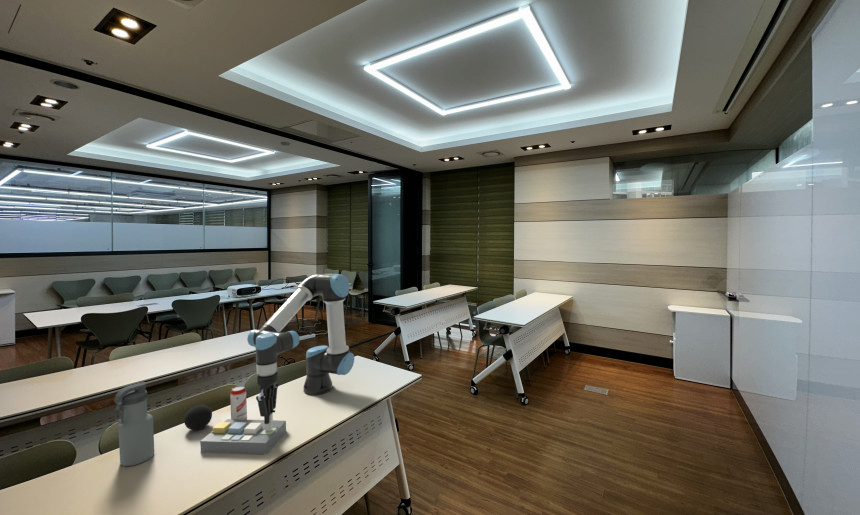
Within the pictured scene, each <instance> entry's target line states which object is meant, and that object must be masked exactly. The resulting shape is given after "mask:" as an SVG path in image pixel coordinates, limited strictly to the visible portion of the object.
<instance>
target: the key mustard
mask: <svg viewBox="0 0 860 515" xmlns="http://www.w3.org/2000/svg"><path fill="white" fill-rule="evenodd" d="M229 427H231V422H224V421H220V422H218V423H216V425H215V426H213V427H212V431H213V433H217V434H225V433H226V432H227V431H228V428H229Z"/></svg>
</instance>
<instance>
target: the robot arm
mask: <svg viewBox="0 0 860 515" xmlns="http://www.w3.org/2000/svg"><path fill="white" fill-rule="evenodd" d="M350 287H351V286H350V281H349V279H348V278H347V277H346V275H344V274H341V273H330V272H329V273H328V272H327V273H325V272H324V273H323V272H318V273H314V274H311V275H310V276H308V277H306V278H305V279H304V280H302V281H301V282H300V283H299V284H298V285H297V286H296V287H295V291H294V292H293V293H292V294H291V295H290V296H289V297H288V298H287V300H286V301H284V302H283V304H282V305H281V306H280V307H279V308H278V309H277V310H276V311H275V312H274V314H272V316H270V318H268V319H267V321H266V322H265V323H264V324H263V325H262V326H261V327H260V329H258V328H257V329H253V330H251V331H250V332H249V333H248V335H247V343H248V345H249V346H250V347H253V348H255V360H256V361H255V362H256V364H255V367H256V384H257V385H258V386H259V395H257V396H256V397H255V400H256V401H257V404H258V405H257V406H258V411H259V416H260V417H263V420H264V426H265V431H271V430H272V429H273V420H274V418H273V417H274V415H273V413H274V414H275V412H276V407H277V399H278V398H277V397H278V396H277V395H278V387H279V383H277V382H278V355H280V354H283V353H285V352H287V351H289V350H290V351H291V350H292V349H295V348H296V347H297V346H298V345H299V344H300V335H299V334H298V332H296V331H295V330H290V331H289V330H288V331H286V332H283V331H282V330H283V329H284V328H285V327H286V326H287V325H288V323H289V322H290V321H291V320H292V319H293V318H294V317H295V315H297V313H298V312H299V311H300V310H301V309H302V307H304V305H305V304H307V303H306V302H308V301H311V300H312V299H313V298H314V297H317V296H320V297H321V298H322V299H321V300H322V302H323V303H324V304H325V309H326V310H325V311H326V324H327V334H328V335H327V336H328V345H317V346H314V347H311V348H309V349H308V350H307V351H306V354H305V356H306V357H305V362H306V364H305V368H306V378H305V380H304V384H303V393H304V394H306V395H310V396H318V395H323V394H325V393H328V392H330V391H331V390H332V389H333V382H332V378H331V376H330V374H334V375H338V376H346V375H347V374H349V373H350V372H351V370H352V368H353V366H354V363H355V354H354V353H353V352H350V347H349V345H347V343H346V342H347V341H346V329H345V328H346V327H345V315H344V301H345V300H346V298H347V296H348V295H349V293H350V289H351V288H350ZM281 331H282V332H281Z"/></svg>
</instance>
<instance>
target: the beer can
mask: <svg viewBox="0 0 860 515" xmlns="http://www.w3.org/2000/svg"><path fill="white" fill-rule="evenodd" d="M229 395H230V396H229V397H230V398H229V400H230V419H241V420H248V409H247V408H248V405H247V404H248V403H247V390H246V388H245V385H238V386H234V387H232V388H231V391H230V393H229Z"/></svg>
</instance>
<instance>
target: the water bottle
mask: <svg viewBox="0 0 860 515" xmlns="http://www.w3.org/2000/svg"><path fill="white" fill-rule="evenodd" d="M146 387H147V382H146V381H145V382H144V381H143V382H142V381H141V382H138V383H135V384H131V385H127V386H124V387H122V388H120V390H119V391H117V393H116V394H115V395H114V403H115V404H116V407H115V411H114V412H115V419H116V422H118V423H119V424H118V446H119V447H118V448H119V463H120V465H121V466H123V467H131V466H132V467H133V466H137V465H139V464H142V463H144V462H147V461H148V460H150V459H151V458H152V457H153V456H154V454H155V436H154V434H155V433H154V432H155V430H154V418H153V415H152V414H150V413H148V405H147V404H148V402H147V400H148V391H147V389H146ZM122 406H123V409H122ZM119 412H120V417H119Z"/></svg>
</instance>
